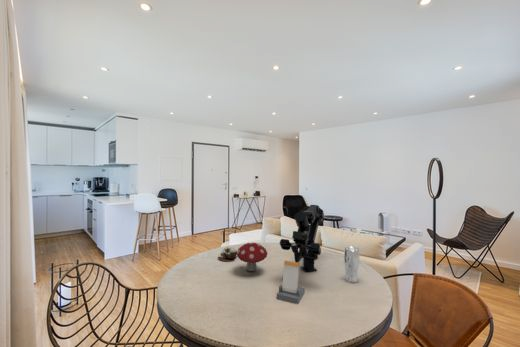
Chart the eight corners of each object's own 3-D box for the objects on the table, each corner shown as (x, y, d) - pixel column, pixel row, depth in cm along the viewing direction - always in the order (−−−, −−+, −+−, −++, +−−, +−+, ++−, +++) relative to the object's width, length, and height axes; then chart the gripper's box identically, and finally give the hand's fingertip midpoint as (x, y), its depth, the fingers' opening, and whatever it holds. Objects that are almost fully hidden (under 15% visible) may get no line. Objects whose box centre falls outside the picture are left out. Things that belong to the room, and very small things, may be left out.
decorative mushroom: (273, 271, 125) (273, 242, 125) (251, 281, 114) (252, 249, 114) (251, 263, 136) (251, 236, 136) (229, 271, 124) (230, 242, 124)
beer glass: (360, 283, 112) (360, 251, 112) (344, 282, 113) (345, 250, 113) (357, 277, 119) (357, 247, 119) (342, 276, 120) (343, 246, 120)
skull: (213, 259, 139) (218, 243, 145) (219, 266, 146) (223, 250, 153) (233, 261, 136) (237, 244, 142) (238, 268, 143) (241, 251, 150)
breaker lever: (283, 290, 101) (285, 260, 104) (297, 293, 98) (299, 262, 101) (281, 291, 99) (284, 260, 102) (295, 294, 97) (298, 263, 99)
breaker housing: (284, 288, 107) (284, 279, 107) (304, 292, 103) (304, 283, 103) (276, 298, 98) (276, 288, 98) (298, 303, 94) (298, 293, 94)
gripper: (281, 222, 116) (272, 251, 106) (320, 226, 108) (314, 258, 98) (286, 234, 123) (278, 263, 113) (323, 239, 115) (318, 270, 105)
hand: (296, 263), depth 107 cm, fingers closed
